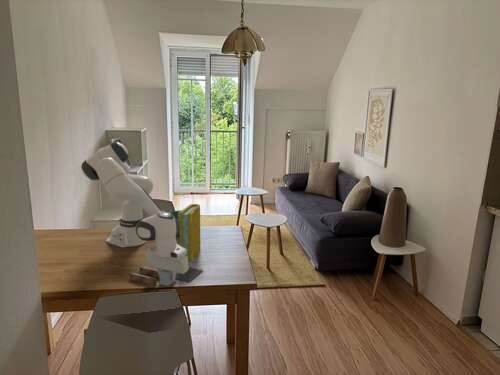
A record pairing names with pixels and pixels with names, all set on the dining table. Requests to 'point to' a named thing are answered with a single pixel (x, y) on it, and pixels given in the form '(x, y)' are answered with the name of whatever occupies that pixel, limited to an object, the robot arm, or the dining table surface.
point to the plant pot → (177, 221)
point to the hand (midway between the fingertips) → (167, 278)
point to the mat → (188, 275)
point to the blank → (166, 277)
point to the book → (190, 230)
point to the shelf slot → (145, 278)
